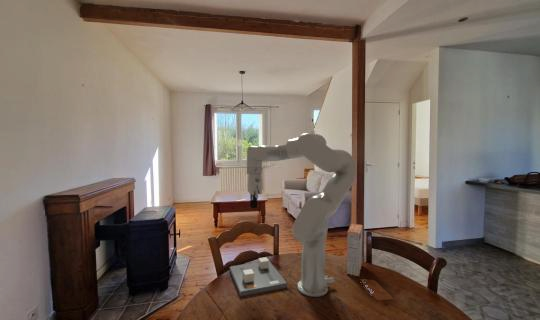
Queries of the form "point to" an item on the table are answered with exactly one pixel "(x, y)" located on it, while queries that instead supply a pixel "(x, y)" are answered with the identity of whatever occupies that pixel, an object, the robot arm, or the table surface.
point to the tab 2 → (263, 263)
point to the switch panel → (257, 279)
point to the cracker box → (354, 249)
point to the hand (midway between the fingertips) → (253, 207)
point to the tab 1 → (248, 275)
